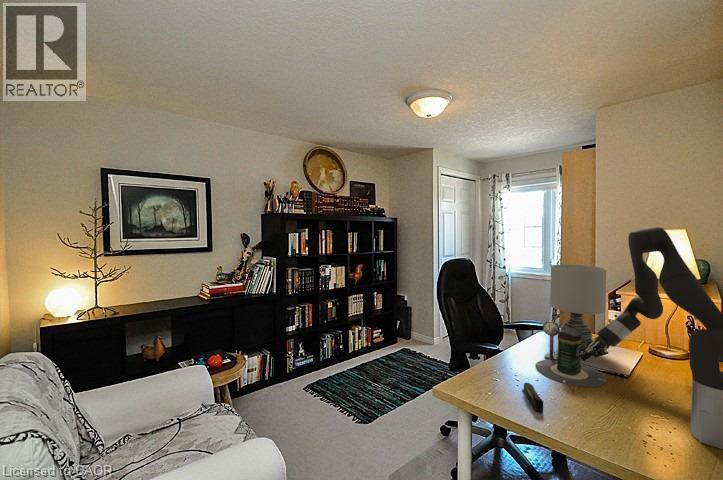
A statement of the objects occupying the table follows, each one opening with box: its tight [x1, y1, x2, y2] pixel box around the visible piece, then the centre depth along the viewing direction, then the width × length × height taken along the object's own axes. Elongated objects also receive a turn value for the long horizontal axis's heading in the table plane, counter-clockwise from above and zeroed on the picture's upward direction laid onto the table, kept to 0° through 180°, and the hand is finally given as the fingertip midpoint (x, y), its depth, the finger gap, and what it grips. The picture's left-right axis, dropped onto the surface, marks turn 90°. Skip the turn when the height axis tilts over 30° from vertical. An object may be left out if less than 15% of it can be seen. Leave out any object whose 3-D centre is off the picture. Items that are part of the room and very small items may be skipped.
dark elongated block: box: [521, 382, 544, 414], centre depth 117 cm, size 5×3×15 cm
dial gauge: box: [542, 320, 561, 360], centre depth 154 cm, size 5×7×18 cm
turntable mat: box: [534, 359, 607, 388], centre depth 140 cm, size 26×26×1 cm
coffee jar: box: [557, 328, 582, 375], centre depth 139 cm, size 10×8×19 cm
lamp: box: [549, 264, 607, 351], centre depth 167 cm, size 24×24×42 cm
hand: (581, 359), depth 139 cm, fingers closed
